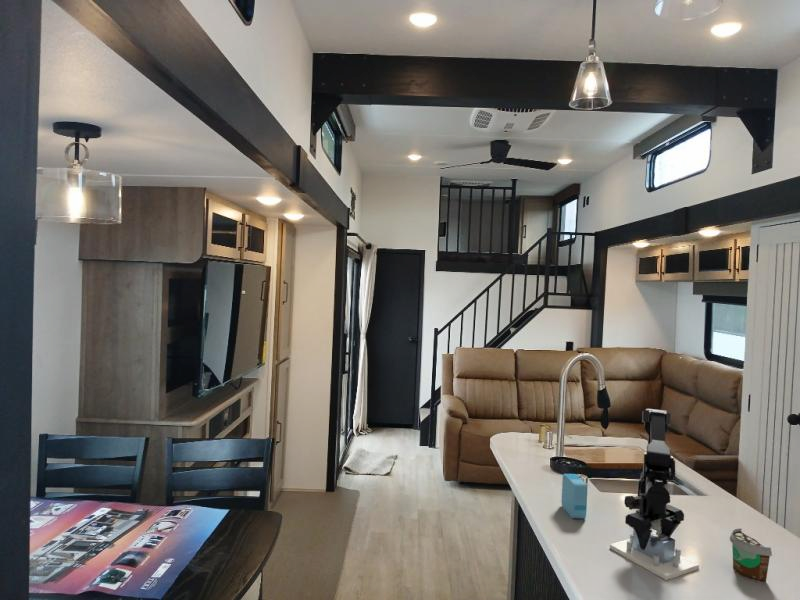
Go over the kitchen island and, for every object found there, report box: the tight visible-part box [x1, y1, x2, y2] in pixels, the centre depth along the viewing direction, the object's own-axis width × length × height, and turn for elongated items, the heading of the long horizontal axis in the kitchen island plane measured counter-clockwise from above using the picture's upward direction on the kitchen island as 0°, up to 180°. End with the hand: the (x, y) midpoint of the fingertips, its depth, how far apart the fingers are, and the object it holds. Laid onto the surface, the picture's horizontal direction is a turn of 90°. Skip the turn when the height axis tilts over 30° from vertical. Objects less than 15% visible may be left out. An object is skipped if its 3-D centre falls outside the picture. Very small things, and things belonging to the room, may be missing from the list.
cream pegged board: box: [609, 533, 700, 581], centre depth 158 cm, size 14×19×4 cm
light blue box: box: [561, 473, 588, 520], centre depth 188 cm, size 12×4×12 cm, turn 2°
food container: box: [729, 528, 773, 583], centre depth 152 cm, size 12×6×10 cm, turn 5°
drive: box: [632, 527, 676, 564], centre depth 158 cm, size 5×10×6 cm, turn 28°
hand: (653, 546), depth 158 cm, fingers open, 9 cm apart
